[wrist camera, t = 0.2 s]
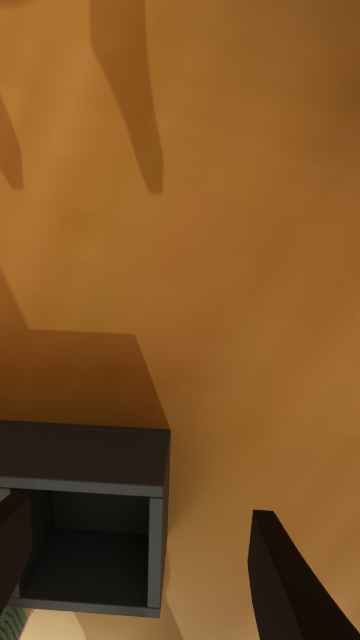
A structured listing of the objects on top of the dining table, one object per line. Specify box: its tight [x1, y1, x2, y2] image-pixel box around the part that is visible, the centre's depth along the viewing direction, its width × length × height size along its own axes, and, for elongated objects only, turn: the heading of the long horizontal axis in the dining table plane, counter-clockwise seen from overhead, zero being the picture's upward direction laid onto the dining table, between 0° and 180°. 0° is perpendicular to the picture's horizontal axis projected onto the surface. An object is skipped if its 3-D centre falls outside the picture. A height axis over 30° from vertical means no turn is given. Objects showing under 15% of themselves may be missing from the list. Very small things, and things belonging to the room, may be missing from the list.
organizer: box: [0, 420, 171, 618], centre depth 19 cm, size 8×16×5 cm, turn 88°
